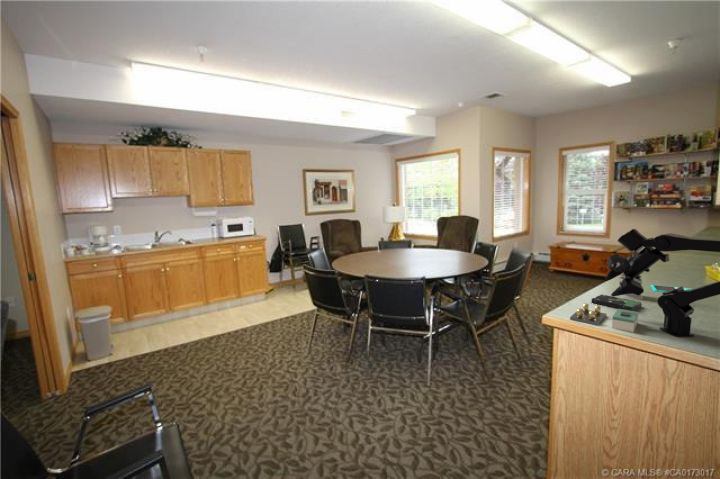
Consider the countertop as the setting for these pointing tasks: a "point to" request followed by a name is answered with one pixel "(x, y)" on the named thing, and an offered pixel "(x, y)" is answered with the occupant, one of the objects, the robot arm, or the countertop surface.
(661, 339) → the countertop surface
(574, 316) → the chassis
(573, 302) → the countertop surface
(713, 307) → the countertop surface
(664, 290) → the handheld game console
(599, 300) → the disk drive
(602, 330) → the countertop surface
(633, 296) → the french press
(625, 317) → the board
